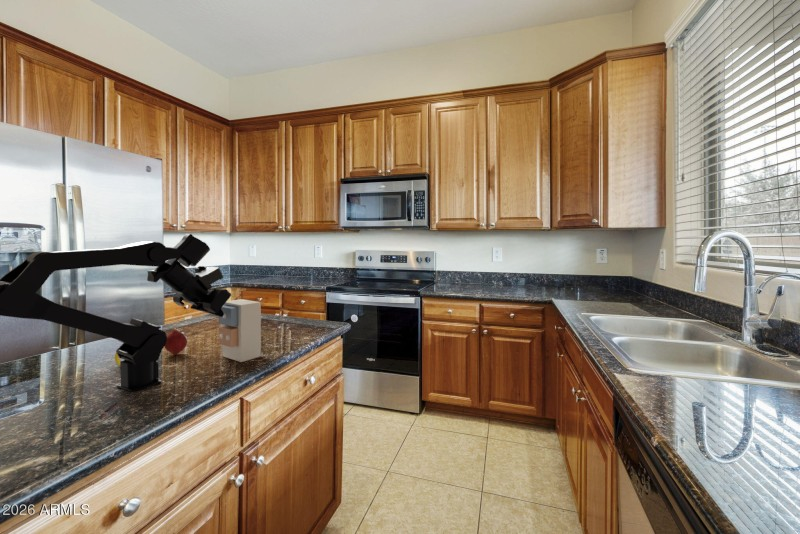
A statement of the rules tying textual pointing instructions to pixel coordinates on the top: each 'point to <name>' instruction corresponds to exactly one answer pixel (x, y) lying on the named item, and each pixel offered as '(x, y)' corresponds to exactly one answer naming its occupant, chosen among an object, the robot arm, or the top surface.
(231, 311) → the upper drawer
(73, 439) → the top surface
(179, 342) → the onion
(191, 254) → the robot arm
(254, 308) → the box
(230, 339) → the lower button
